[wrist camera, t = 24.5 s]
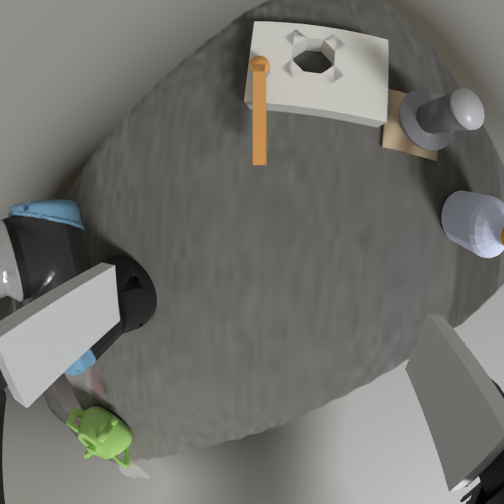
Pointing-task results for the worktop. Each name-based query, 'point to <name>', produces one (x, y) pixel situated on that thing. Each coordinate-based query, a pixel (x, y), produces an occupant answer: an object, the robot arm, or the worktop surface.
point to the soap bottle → (475, 222)
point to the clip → (259, 109)
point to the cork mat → (400, 130)
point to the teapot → (101, 433)
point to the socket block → (329, 82)
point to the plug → (438, 116)
